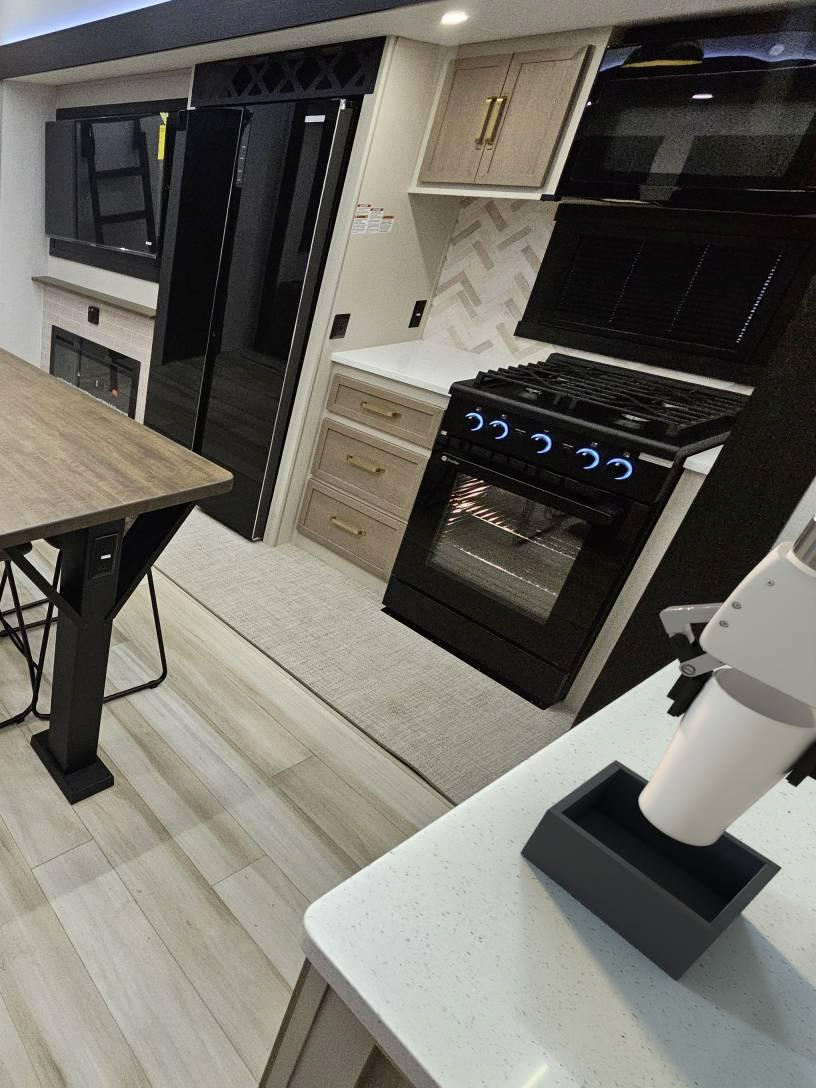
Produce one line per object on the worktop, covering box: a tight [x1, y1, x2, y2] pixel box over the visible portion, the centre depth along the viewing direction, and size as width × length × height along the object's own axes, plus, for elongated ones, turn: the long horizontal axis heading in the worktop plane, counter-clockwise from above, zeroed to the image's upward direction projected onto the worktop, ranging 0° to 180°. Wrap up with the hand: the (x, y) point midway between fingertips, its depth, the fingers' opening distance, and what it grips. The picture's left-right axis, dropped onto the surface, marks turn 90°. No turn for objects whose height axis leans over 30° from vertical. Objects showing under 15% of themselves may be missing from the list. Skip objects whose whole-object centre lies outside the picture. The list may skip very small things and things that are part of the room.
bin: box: [520, 759, 782, 982], centre depth 63 cm, size 13×13×7 cm
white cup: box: [639, 667, 816, 846], centre depth 56 cm, size 7×7×15 cm
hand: (735, 740), depth 55 cm, fingers closed on white cup, 6 cm apart
